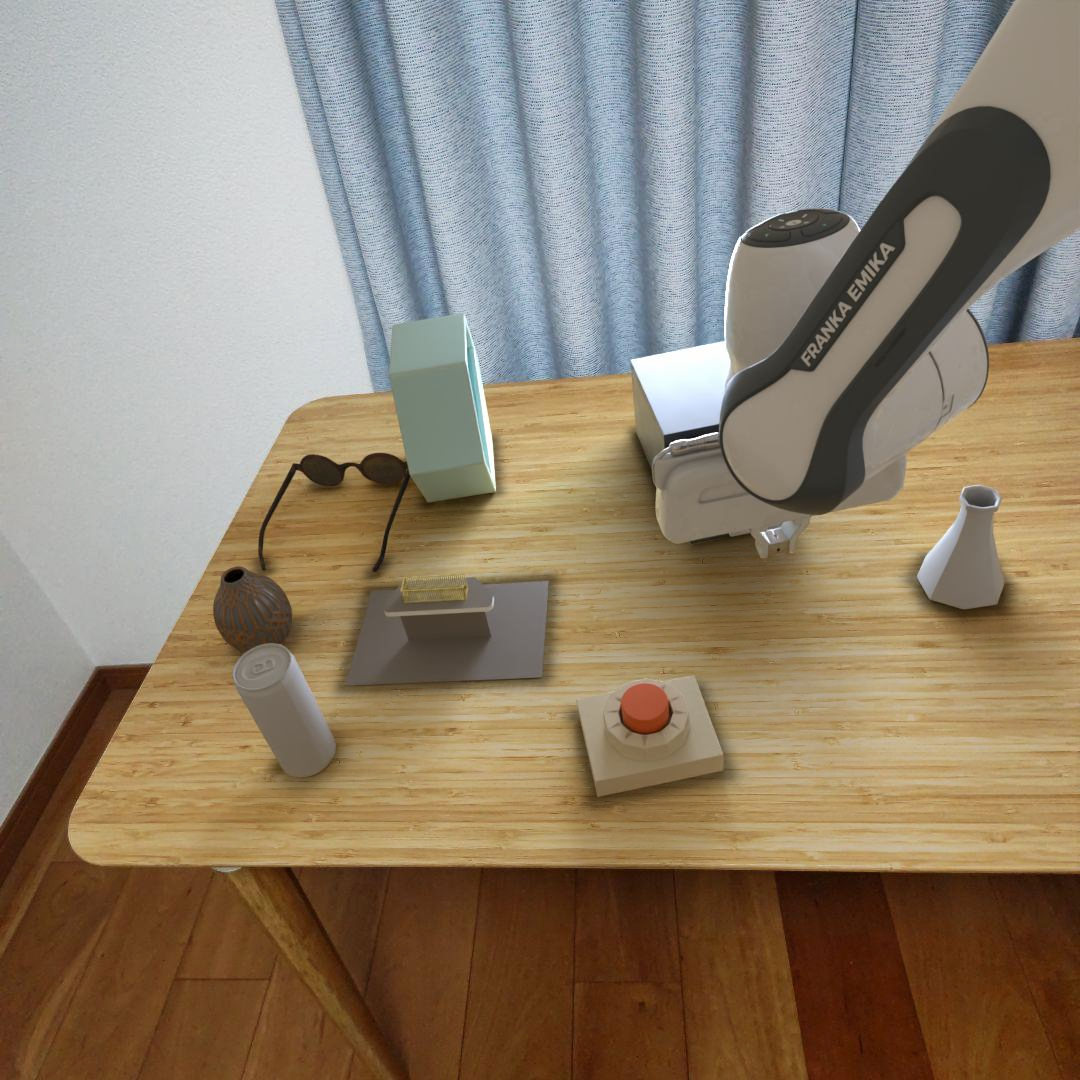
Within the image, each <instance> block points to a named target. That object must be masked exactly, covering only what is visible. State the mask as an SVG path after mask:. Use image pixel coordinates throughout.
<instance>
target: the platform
mask: <svg viewBox="0 0 1080 1080" xmlns="http://www.w3.org/2000/svg"><path fill="white" fill-rule="evenodd" d="M549 582H550V580H538V581H522V582H521V581H519V582H505V583H504V582H501V583H487V584H485V583H484V584H483V582H481V581H480V580H479V579H478V578H477V577H476V576H469V577H468V576H467V577H466V575H465V573H453V574H435V575H417V576H403V579H402V582H401V583H400V584H399V585H398V586H397V587H396V589H383V590H382V589H381V590H370V594H369V597H368V602H367V606H366V609H365V612H364V615H363V620H362V624H361V628H360V631H359V634H358V638H357V643H356V647H355V650H354V652H353V653H354V654H353V658H352V661H351V665H350V668H349V672H348V676H347V678H346V679H347V680H346V683H345V687H349V686H372V685H373V686H375V685H394V684H397V685H398V684H417V683H442V682H463V681H465V682H466V681H467V682H469V681H489V680H510V679H511V680H512V679H533V678H535V679H536V678H543V669H544V656H545V643H546V642H545V641H546V627H547V613H548V612H547V611H548V600H549V599H548V597H549V584H550V583H549Z"/></svg>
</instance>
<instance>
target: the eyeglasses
mask: <svg viewBox="0 0 1080 1080" xmlns="http://www.w3.org/2000/svg"><path fill="white" fill-rule="evenodd" d="M351 467H354V468H355V469H357V470H358V471H359V472H360V474H361V475H362V476H363V477H364V479H366V480H368V481H370V482H372V483H376V484H379V485H393V484H397V483H399V482H401V481H402V483H401V484H400V488H399V490H398V493H397V496H396V498H395V501H394V504H393V507H392V509H391V512H390V515H389V518H388V521H387V524H386V527H385V529H384V533H383V538H382V543H381V549H380V552H379V556H378V558H377V560H376V562H375V564H374V565H373V567H372V569H371V571H372V573H374V574H375V573H378V571H379V569H380V567H381V566H382V564H383V562H384V560H385V557H386V553H387V549H388V542H389V537H390V532H391V528H392V526H393V523H394V520H395V518H396V516H397V512H398V510H399V507H400V505H401V502H402V500H403V497H404V495H405V492H406V490H407V487H408V485H409V482H410V480H411V476H410V474H409V469H408V464H407V460H406V461H403V460H402V459H401V458H399V457H398V456H397V455H394V454H391V453H387V452H374V453H369V454H367V455H366V456H364V458H362V460H361V461H360V462H359V463H358V462H350V461H349V462H344V463H337V462H336V461H334V460H332V459H330V458H329V457H327V456H324V455H320V454H315V453H313V454H311V453H310V454H306V455H305V456H303V457H302V458H301V459H300V461H299V463H296V462H293V463H292V464H291V467H290V469H289V471H288V472H287V474H286V476H285V478H284V480H283V482H282V484H281V486H280V488H279V490H278V491H277V494H276V495H275V497H274V499H273V501H272V503H271V505H270V507H269V509H268V511H267V514H266V516H265V517H264V519H263V522H262V524H261V526H260V530H259V535H258V544H257V555H258V559H259V562H260V567H261V570H262V571H266V569H267V568H266V563H265V559H264V555H263V553H264V542H265V541H264V539H265V533H266V529H267V527H268V525H269V522H270V520H271V519H272V517H273V514H274V513H275V511H276V509H277V507H278V506H279V504H280V501H281V500H282V498H283V496H284V495H285V493H286V491H287V489H288V487H289V486H290V483H291V482H292V481H293V478H294V476H295V474H296V473H297V471H298V472H301V473H302V474H303V475H304V476H305V477H306V478H307V479H308V480H310V481H311V482H313V483H314V484H317V485H319V486H323V487H336V486H339V485H340V484H342V483H343V481H344V479H345V475H346V474H345V473H346V470H347V469H348V468H351Z"/></svg>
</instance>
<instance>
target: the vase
mask: <svg viewBox="0 0 1080 1080" xmlns="http://www.w3.org/2000/svg"><path fill="white" fill-rule="evenodd" d="M219 581H220V582H219V587H218V589H217V590H216V591H217V592H216V593H215V596H214V598H213V599H214V600H213V604H212V614H213V620H214V624H215V627H216V629H217V631H218V633H219V635H220V636H221V638H222V639H223V641H224V642H226V644H228V645H229V646H230V647H231V648H233V649H234V650H236V651H237V652H239V653H242V654H244V653H246V652H247V651H249V650H250V649H252V648H254V647H256V646H259V645H263V644H269V643H275V644H280V645H282V644H283V643H285V641H286V640H287V638H288V637H289V635H290V632H291V630H292V629H293V628H292V627H293V608H292V605H291V603H290V600H289V597H288V595H287V594H286V592H285V591H284V589H283V588H282V587H281V586H280V585H279V584H278V583H277V582H276V581H275V580H273V579H272V578H271V577H269V576H267V575H265V574H262V573H258V572H254V571H250V570H248V569H247V568H246V567H243V566H241V565H240V566H239V565H237V566H232V567H230V568H228V569H226V570H225V571H224V572H223V573H222V574H221V576H220V580H219Z"/></svg>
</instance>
